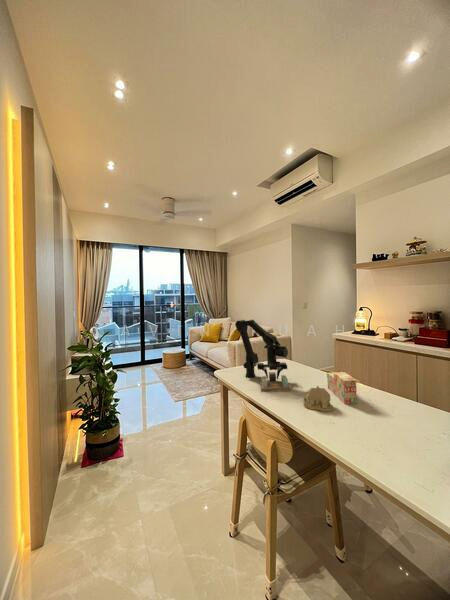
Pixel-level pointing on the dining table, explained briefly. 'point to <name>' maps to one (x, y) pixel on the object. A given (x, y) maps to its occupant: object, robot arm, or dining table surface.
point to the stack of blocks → (342, 386)
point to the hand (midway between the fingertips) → (272, 379)
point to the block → (272, 376)
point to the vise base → (272, 385)
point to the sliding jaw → (284, 381)
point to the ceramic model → (318, 399)
